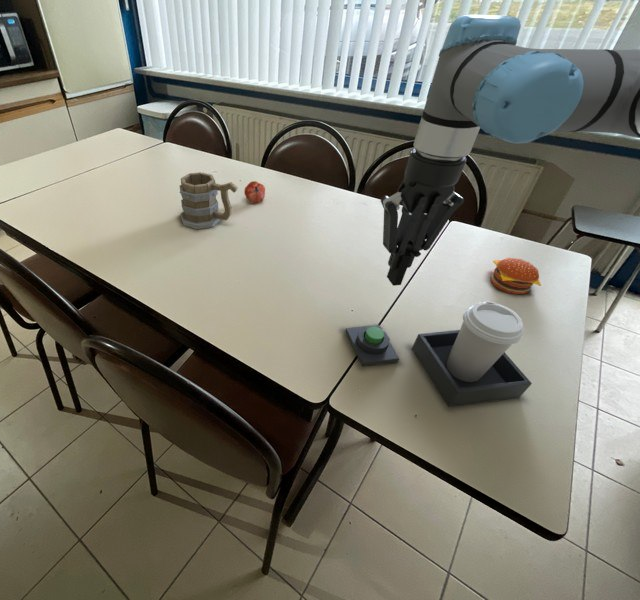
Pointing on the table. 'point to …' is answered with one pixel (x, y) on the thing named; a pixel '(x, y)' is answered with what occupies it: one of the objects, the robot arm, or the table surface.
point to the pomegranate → (254, 192)
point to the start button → (374, 335)
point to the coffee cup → (483, 339)
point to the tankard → (203, 200)
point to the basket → (492, 386)
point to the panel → (371, 347)
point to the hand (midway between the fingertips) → (393, 280)
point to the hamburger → (514, 275)
